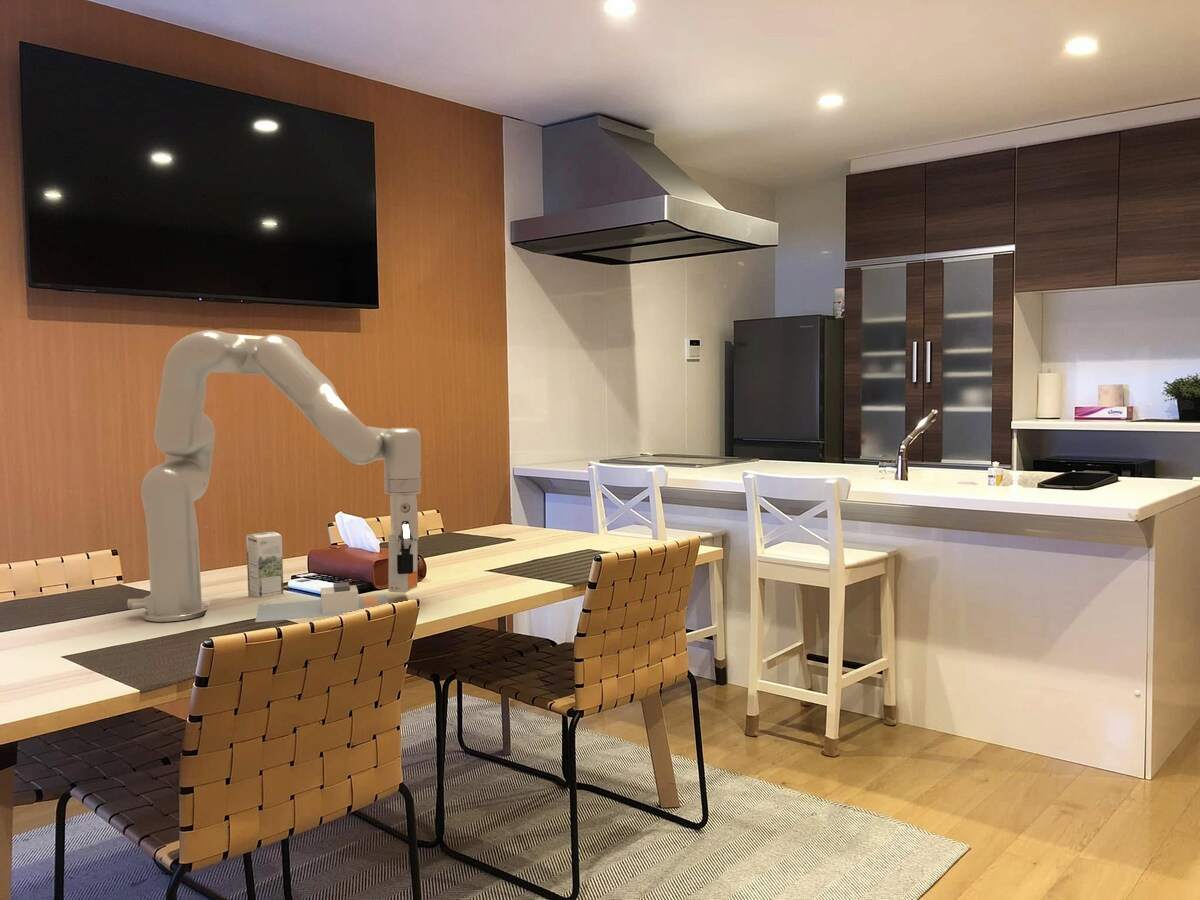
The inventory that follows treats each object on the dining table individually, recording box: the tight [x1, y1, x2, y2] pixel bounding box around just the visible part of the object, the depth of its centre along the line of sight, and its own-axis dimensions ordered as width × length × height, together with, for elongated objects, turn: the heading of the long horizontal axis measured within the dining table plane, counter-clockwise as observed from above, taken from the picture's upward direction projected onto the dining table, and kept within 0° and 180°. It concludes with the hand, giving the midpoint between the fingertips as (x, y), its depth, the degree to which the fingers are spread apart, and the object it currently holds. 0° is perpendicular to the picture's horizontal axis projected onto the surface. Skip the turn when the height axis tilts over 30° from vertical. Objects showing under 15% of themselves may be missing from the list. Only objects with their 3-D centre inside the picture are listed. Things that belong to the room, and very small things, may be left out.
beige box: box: [320, 581, 359, 614], centre depth 188 cm, size 7×6×5 cm
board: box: [254, 593, 390, 623], centre depth 190 cm, size 26×15×1 cm, turn 108°
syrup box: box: [245, 531, 285, 598], centre depth 204 cm, size 6×6×14 cm
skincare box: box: [387, 534, 418, 594], centre depth 195 cm, size 6×4×12 cm
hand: (403, 569), depth 195 cm, fingers closed on skincare box, 7 cm apart
